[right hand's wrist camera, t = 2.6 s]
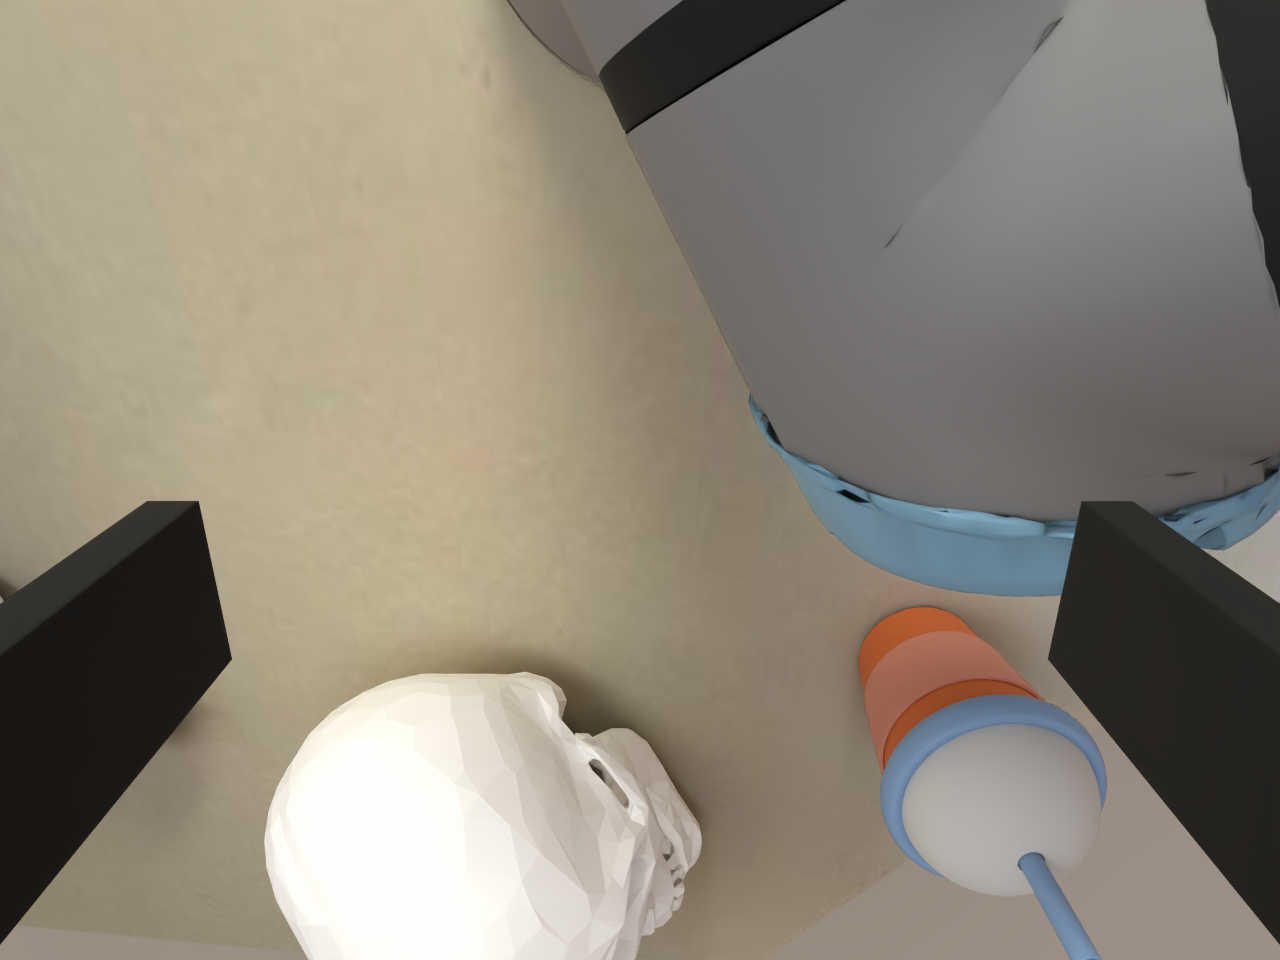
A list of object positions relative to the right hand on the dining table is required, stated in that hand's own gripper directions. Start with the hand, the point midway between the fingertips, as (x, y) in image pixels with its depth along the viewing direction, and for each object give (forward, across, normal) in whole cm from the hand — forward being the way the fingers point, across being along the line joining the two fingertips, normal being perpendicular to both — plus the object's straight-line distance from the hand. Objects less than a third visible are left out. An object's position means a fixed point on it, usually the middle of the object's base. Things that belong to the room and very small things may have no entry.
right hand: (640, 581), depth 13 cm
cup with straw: (+26, +14, -18) cm, 35 cm away
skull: (+26, -6, -25) cm, 37 cm away
